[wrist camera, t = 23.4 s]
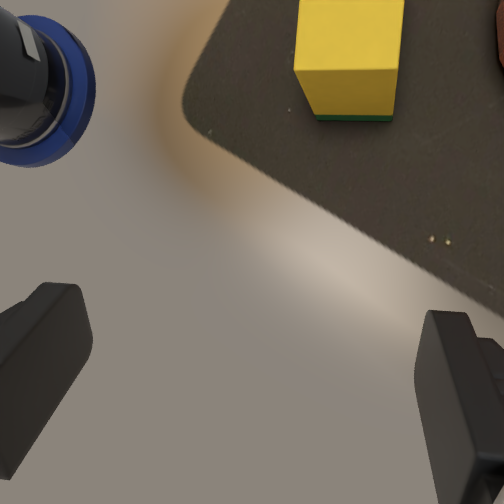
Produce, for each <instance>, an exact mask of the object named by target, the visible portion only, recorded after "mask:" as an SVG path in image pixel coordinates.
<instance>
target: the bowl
mask: <svg viewBox="0 0 504 504" xmlns="http://www.w3.org/2000/svg"><path fill="white" fill-rule="evenodd" d="M496 13H497V14H496V21H497V34H498V47H499V58H500V61H501V63H502V65H503V67H504V0H500V1H499V5H498V8H497V12H496Z"/></svg>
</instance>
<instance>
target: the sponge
mask: <svg viewBox="0 0 504 504" xmlns="http://www.w3.org/2000/svg"><path fill="white" fill-rule="evenodd" d="M404 1H405V0H300V1H299V13H298V24H297V36H296V47H295V59H294V72H295V74H296V76H297V78H298V80H299V82H300V85H301V87H302V89H303V91H304V93H305V95H306V98H307V100H308V102H309V104H310V106H311V108H312V111H313V113H314V115H315V117H316V119H317V120H339V121H392V118H393V110H394V101H395V92H396V83H397V74H398V65H399V54H400V44H401V33H402V22H403V11H404Z"/></svg>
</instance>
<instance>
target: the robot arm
mask: <svg viewBox="0 0 504 504" xmlns="http://www.w3.org/2000/svg"><path fill="white" fill-rule="evenodd" d="M72 84H73V83H72V73H71V68H70V64H69V61H68V59H67V57H66V55H65V53H64V51H63V50H62V48H61V47H60V46H59V45H58V43H57V42H55V41H54V40H53V39H52V38H50V37H49V36H48V35H46V34H44V33H43V32H41V31H39V30H37V29H34V28H33V27H31V26H30V25H28V24H27V23H25V22H23V21H22V20H20V19H19V18H17V17H16V16H14V15H13V14H11V13H10V12H8V11H7V10H5V9H4V8H2V7H1V6H0V145H1V146H4V147H8V148H12V149H25V148H30V147H33V146H36V145H38V144H40V143H42V142H43V141H45V140H46V139H47V138H49V137H50V136H51V135H52V134H53V133H54V132H55V131H56V130H57V128H58V127H59V126H60V124H61V123H62V121H63V119H64V117H65V115H66V113H67V111H68V108H69V105H70V101H71V96H72ZM92 343H93V336H92V331H91V327H90V323H89V319H88V315H87V311H86V307H85V303H84V299H83V295H82V291H81V289H80V288H79V286H78V285H76V284H66V283H52V282H45V283H42V284H41V285H39V286H38V287H37V289H36V290H35V291H34V292H33V293H32V294H31V295H30V296H29V297H28V298H27V299H26V300H25V301H21V302H19V303H17V304H15V305H14V306H13V307H10V308H9V309H7V310H5V311H4V312H2V313H0V479H4V480H10V479H11V478H12V476H13V474H14V473H15V472H16V470H17V468H18V467H19V465H20V464H21V462H22V461H23V459H24V457H25V456H26V454H27V453H28V451H29V450H30V448H31V447H32V445H33V443H34V442H35V441H36V439H37V438H38V436H39V434H40V433H41V431H42V430H43V428H44V427H45V425H46V424H47V422H48V420H49V419H50V417H51V416H52V414H53V413H54V411H55V410H56V408H57V406H58V405H59V403H60V402H61V400H62V399H63V397H64V396H65V394H66V393H67V391H68V390H69V388H70V386H71V385H72V383H73V382H74V380H75V379H76V377H77V375H78V374H79V373H80V371H81V369H82V368H83V366H84V365H85V363H86V361H87V360H88V358H89V356H90V353H91V349H92ZM414 383H415V392H416V397H417V402H418V407H419V411H420V416H421V421H422V426H423V431H424V436H425V440H426V445H427V450H428V455H429V459H430V464H431V469H432V473H433V479H434V483H435V488H436V493H437V498H438V503H439V504H504V349H503V348H502V347H501V346H500V345H499V344H498V343H497V342H495V341H494V340H493V339H491V338H478V337H477V336H476V334H475V331H474V329H473V326H472V324H471V321H470V319H469V317H468V315H467V314H466V313H465V312H451V311H437V310H428V311H427V313H426V316H425V320H424V324H423V329H422V334H421V339H420V343H419V348H418V352H417V358H416V362H415V370H414Z"/></svg>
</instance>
